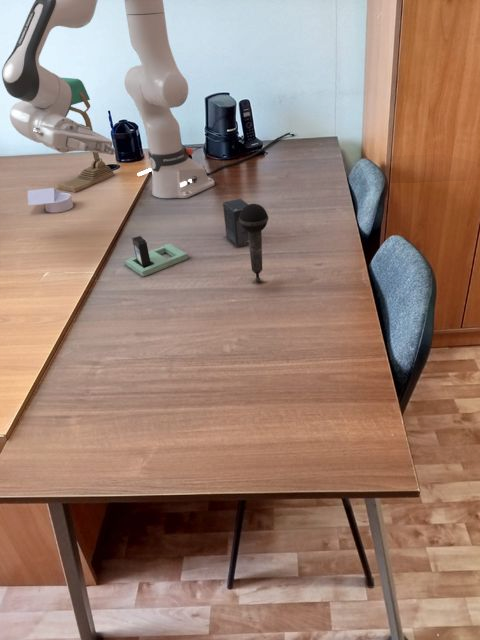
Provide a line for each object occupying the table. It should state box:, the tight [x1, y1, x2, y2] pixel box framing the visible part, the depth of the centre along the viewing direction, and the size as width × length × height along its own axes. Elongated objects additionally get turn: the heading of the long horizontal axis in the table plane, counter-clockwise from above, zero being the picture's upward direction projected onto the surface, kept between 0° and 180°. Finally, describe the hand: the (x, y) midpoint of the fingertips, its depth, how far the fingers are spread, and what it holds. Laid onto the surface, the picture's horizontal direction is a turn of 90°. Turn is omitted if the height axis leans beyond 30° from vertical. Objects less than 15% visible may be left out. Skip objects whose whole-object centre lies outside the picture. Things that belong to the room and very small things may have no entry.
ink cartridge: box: [131, 235, 151, 268], centre depth 139 cm, size 5×2×8 cm, turn 31°
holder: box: [125, 243, 189, 277], centre depth 143 cm, size 14×9×2 cm, turn 130°
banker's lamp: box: [57, 76, 115, 193], centre depth 187 cm, size 16×21×35 cm
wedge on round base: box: [27, 187, 74, 214], centre depth 177 cm, size 9×7×13 cm
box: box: [222, 198, 249, 248], centre depth 148 cm, size 8×6×11 cm
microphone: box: [239, 203, 269, 283], centre depth 126 cm, size 7×7×20 cm
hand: (99, 149), depth 135 cm, fingers open, 8 cm apart
